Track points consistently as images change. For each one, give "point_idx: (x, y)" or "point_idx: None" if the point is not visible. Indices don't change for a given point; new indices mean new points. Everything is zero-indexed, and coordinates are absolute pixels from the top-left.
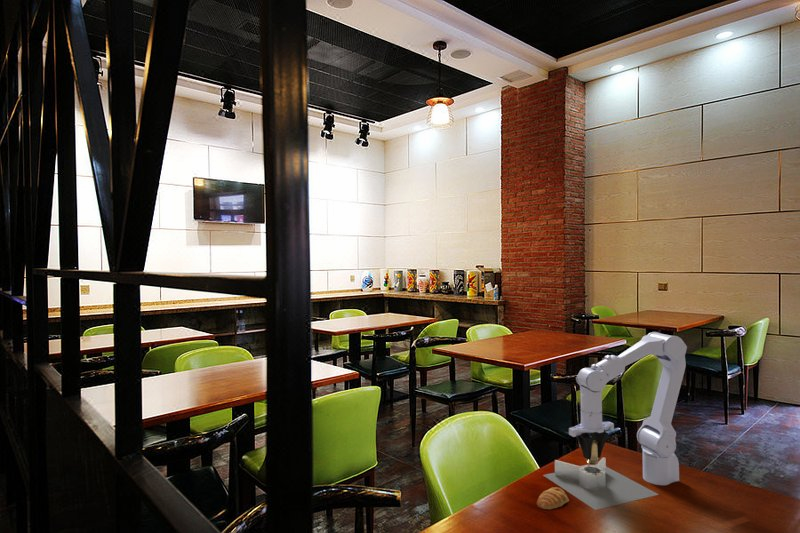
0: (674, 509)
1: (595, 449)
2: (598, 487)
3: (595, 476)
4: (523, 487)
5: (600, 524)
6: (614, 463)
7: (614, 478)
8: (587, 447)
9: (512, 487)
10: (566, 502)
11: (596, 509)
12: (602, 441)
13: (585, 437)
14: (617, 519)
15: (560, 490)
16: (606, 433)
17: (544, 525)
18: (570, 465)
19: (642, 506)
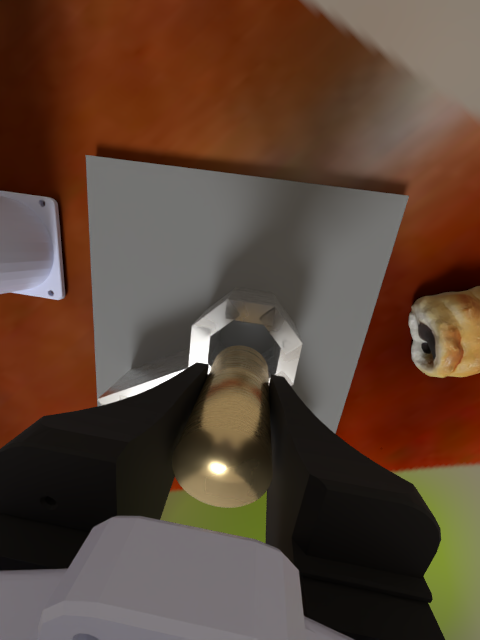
0: (110, 60)
1: (239, 395)
2: (266, 294)
3: (279, 310)
4: (428, 444)
5: (461, 127)
6: (49, 401)
7: (137, 326)
8: (327, 431)
9: (457, 460)
10: (441, 295)
11: (400, 196)
12: (151, 414)
13: (407, 554)
14: (369, 121)
15: (454, 335)
16: (17, 477)
17: None
18: None
19: (200, 146)
